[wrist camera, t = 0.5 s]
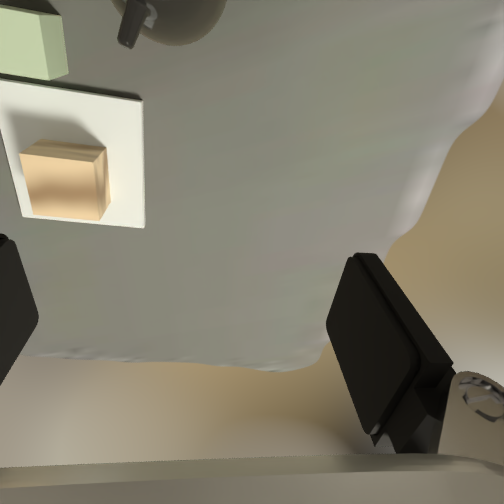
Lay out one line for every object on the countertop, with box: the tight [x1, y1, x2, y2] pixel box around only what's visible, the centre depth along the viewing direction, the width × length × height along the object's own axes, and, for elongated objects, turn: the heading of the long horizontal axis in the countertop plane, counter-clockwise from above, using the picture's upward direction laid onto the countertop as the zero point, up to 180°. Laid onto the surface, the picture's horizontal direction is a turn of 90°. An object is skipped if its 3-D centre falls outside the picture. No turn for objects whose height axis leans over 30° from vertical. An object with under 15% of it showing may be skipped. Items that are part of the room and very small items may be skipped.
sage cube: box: [0, 5, 69, 80], centre depth 31 cm, size 5×5×5 cm
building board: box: [0, 78, 145, 228], centre depth 39 cm, size 16×15×1 cm
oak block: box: [19, 139, 111, 221], centre depth 37 cm, size 7×7×5 cm
